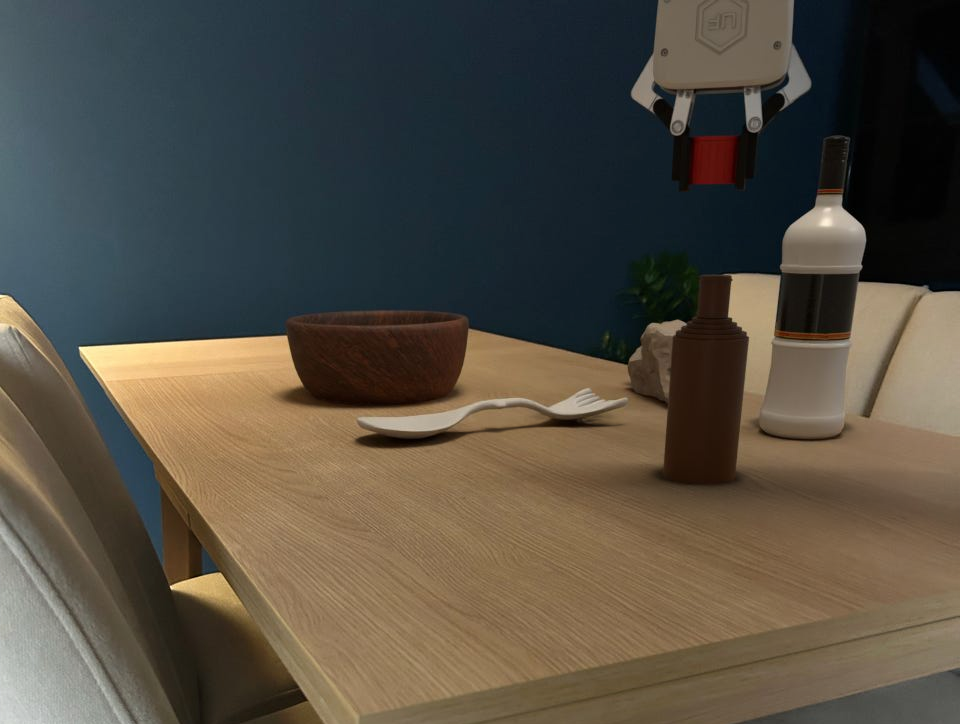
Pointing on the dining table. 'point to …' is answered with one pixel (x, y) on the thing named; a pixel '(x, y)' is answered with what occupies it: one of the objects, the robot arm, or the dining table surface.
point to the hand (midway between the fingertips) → (712, 188)
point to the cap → (713, 160)
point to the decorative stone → (654, 360)
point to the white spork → (439, 422)
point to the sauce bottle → (706, 390)
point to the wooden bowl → (378, 354)
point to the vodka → (815, 311)
